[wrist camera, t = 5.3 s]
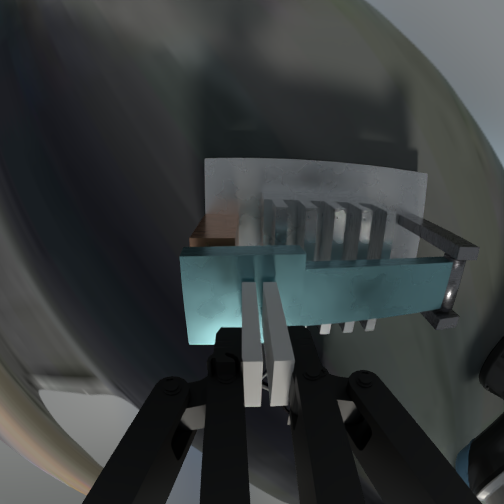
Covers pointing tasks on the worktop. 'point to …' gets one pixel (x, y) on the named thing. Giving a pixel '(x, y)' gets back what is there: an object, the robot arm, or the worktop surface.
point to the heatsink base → (324, 214)
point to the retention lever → (309, 286)
